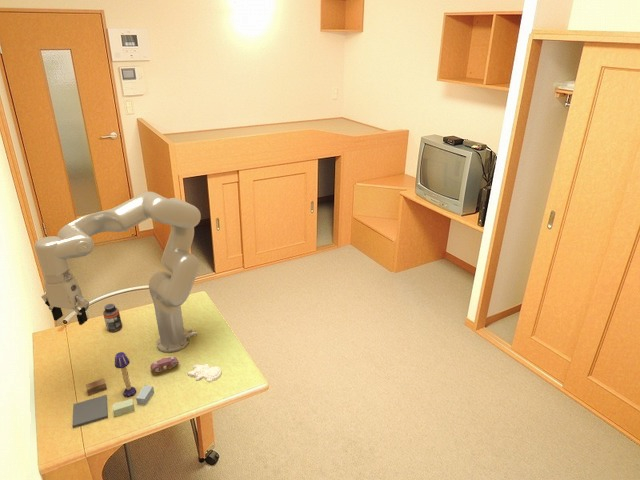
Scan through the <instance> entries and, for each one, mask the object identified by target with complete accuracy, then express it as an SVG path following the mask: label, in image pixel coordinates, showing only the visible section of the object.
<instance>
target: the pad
mask: <svg viewBox="0 0 640 480" xmlns="http://www.w3.org/2000/svg"><path fill="white" fill-rule="evenodd" d="M108 411H109V410H108V395H107V394H105V395H101V396H97V397H94V398H90V399H87V400H83V401H79V402H75V403H73V407H72V423H71V425H72V428H73V429H75V428H79V427H81V426H84V425H89V424H92V423H95V422H98V421H102V420H106V419H108V416H109V415H108V414H109V413H108Z"/></svg>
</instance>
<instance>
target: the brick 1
mask: <svg viewBox="0 0 640 480" xmlns="http://www.w3.org/2000/svg"><path fill="white" fill-rule="evenodd" d="M105 380H106V379H105V378H104V377H103V378H100V379H98V380H95V381H93V382H90V383H86V384H85V389H86V392H87V396H88V397H90V396H93V395H95V394H99V393H101V392H103V391H107V390H108V387H107V383H106V381H105Z"/></svg>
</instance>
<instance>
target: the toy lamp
mask: <svg viewBox="0 0 640 480" xmlns="http://www.w3.org/2000/svg"><path fill="white" fill-rule="evenodd" d="M130 363H131V361H130V359H129V357H128V355H127V354H126V353H125V352H124V351H120V352H118V353H116V354H115V356H114V367H115V368H116V369H120V371H121V375H122V378H123V383H124V385H125V389H124V390H123V393H122V395H123V397H125V398H131V397H134V396H135V395H136V393H137V388H136V387H134V386H132V385H131V381H130V378H129V373H128V371H127V370H128V369H127V367H128V365H130Z"/></svg>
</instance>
